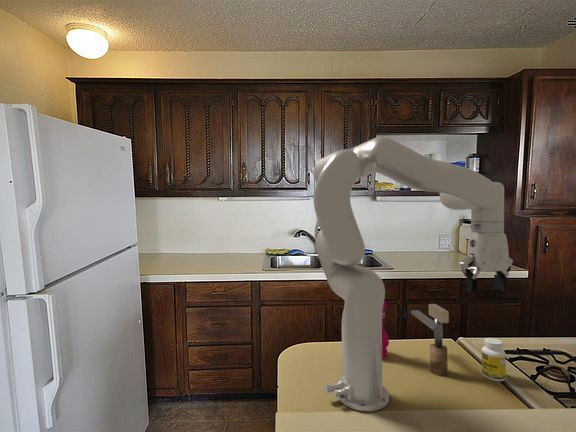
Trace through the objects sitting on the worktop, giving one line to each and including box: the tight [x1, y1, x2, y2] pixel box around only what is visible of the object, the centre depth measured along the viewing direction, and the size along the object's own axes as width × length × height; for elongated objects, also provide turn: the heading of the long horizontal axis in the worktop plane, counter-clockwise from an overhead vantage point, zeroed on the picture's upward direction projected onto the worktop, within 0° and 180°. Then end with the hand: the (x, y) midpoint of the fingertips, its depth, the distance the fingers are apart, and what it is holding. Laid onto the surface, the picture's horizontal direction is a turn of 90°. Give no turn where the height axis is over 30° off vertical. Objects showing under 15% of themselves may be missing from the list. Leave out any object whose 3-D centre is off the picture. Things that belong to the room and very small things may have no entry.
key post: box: [429, 343, 449, 377], centre depth 89 cm, size 4×4×7 cm
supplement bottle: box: [481, 337, 507, 382], centre depth 86 cm, size 5×5×10 cm
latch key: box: [410, 303, 450, 347], centre depth 95 cm, size 18×2×11 cm, turn 3°
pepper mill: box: [382, 299, 390, 360], centre depth 100 cm, size 7×7×20 cm
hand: (486, 291), depth 86 cm, fingers open, 9 cm apart
